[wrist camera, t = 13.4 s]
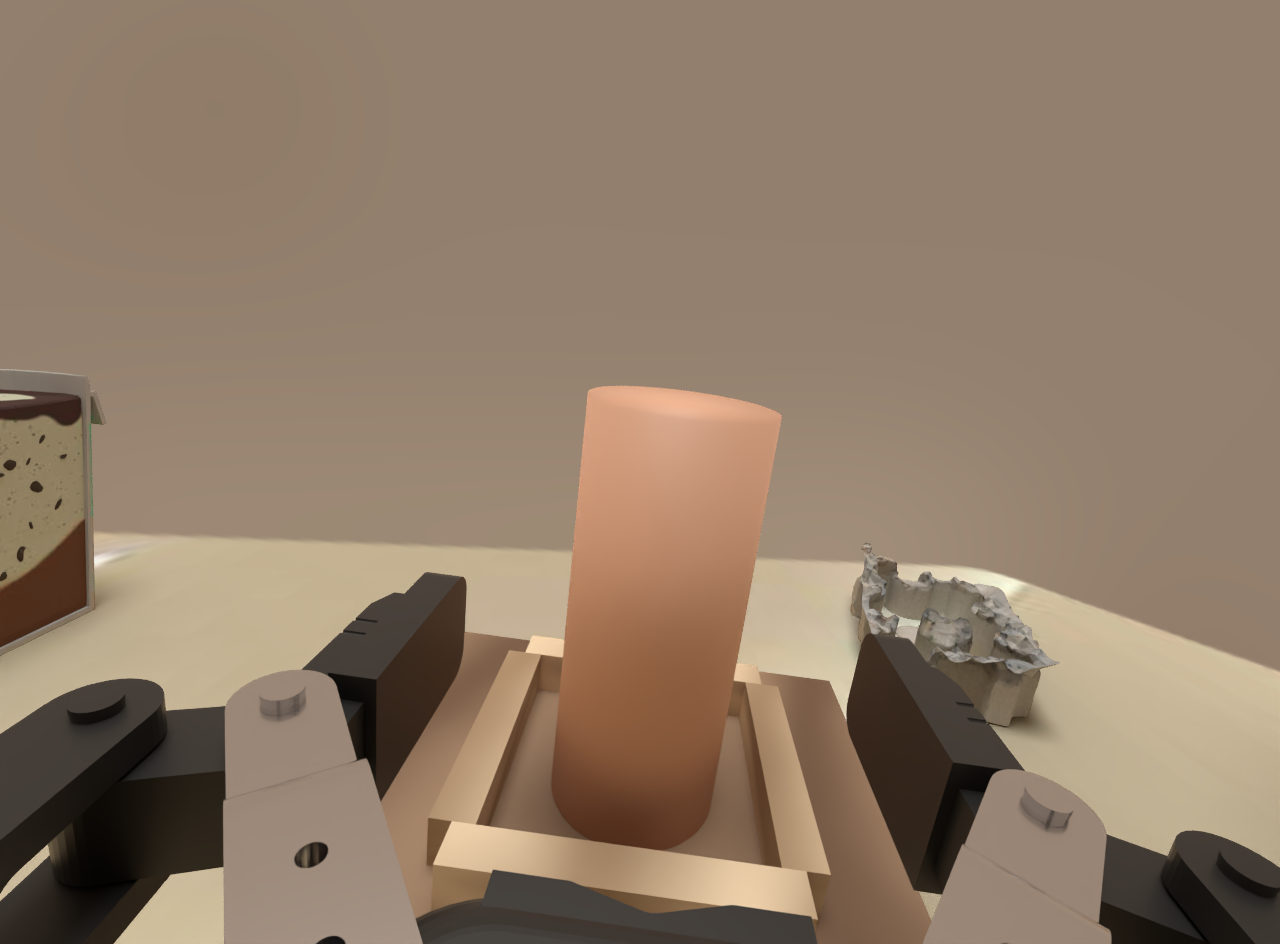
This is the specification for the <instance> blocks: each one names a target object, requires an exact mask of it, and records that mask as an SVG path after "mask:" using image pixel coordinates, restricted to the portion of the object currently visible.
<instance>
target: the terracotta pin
mask: <svg viewBox="0 0 1280 944" xmlns="http://www.w3.org/2000/svg"><path fill="white" fill-rule="evenodd" d="M781 418H782V416H781V415H780V414H779V413H777V412H776V411H774V410H771V409H769V408H766V407H763V406H760V405H757V404H753V403H749V402H745V401H741V400H737V399H732V398H727V397H722V396H717V395H711V394H705V393H698V392H691V391H684V390H676V389H666V388H655V387H641V386H605V387H598V388H593V389H591V390H589V391H588V398H587V408H586V419H585V429H584V441H583V450H582V461H581V472H580V482H579V493H578V503H577V514H576V524H575V535H574V545H573V556H572V566H571V577H570V587H569V598H568V608H567V619H566V629H565V640H564V650H563V661H562V672H561V682H560V693H559V703H558V714H557V724H556V735H555V745H554V756H553V766H552V777H551V789H552V795H553V798H554V801H555V804H556V806H557V808H558V810H559V812H560V813H561V815H562V816H563V817H564V819H565V820H566V821H567V822H568V823H569V824H570V825H571V827H572V828H573V829H575V830H576V831H577V832H579V833H580V834H581V835H582V836H584V837H586V838H587V839H589V840H591V841H596V842H603V843H610V844H617V845H624V846H631V847H638V848H645V849H652V850H659V851H662V850H666V849H669V848H672V847H674V846H677V845H679V844H681V843H683V842H684V841H686V840H688V839H689V838H690V837H692V836H693V835H694V834H695V833H696V832H697V831H698V830H699V829H700V828H701V826H702V825H703V824H704V822H705V820H706V818H707V816H708V813H709V811H710V806H711V801H712V795H713V790H714V784H715V779H716V773H717V768H718V763H719V757H720V752H721V746H722V741H723V735H724V730H725V724H726V719H727V713H728V708H729V702H730V697H731V692H732V686H733V681H734V675H735V670H736V664H737V659H738V653H739V648H740V642H741V637H742V631H743V626H744V620H745V615H746V610H747V604H748V599H749V593H750V588H751V582H752V577H753V571H754V566H755V560H756V554H757V549H758V544H759V538H760V533H761V527H762V522H763V516H764V511H765V506H766V500H767V495H768V489H769V484H770V478H771V472H772V467H773V462H774V456H775V451H776V445H777V440H778V435H779V429H780V424H781Z"/></svg>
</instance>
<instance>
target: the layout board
mask: <svg viewBox="0 0 1280 944" xmlns="http://www.w3.org/2000/svg"><path fill="white" fill-rule="evenodd" d="M563 650H564V640H562V639H555V638H548V637H540V636H532V638H531V640H530V641H529V640H521V639H514V638H506V637H499V636H492V635H484V634H477V633H469V632H464V649H463V656H462V661H461V665H460V668H459V671H458V674H457V676H456V678H455V680H454V682H453V683H452V685H451V687H450V688H449V690H448V691H447V693H446V695H445V696H444V698H443V700H442V701H441V703H440V705H439V706H438V708H437V710H436V711H435V713H434V715H433V716H432V718H431V720H430V721H429V723H428V725H427V726H426V728H425V730H424V731H423V733H422V734H421V736H420V738H419V739H418V741H417V743H416V744H415V746H414V748H413V749H412V751H411V753H410V754H409V756H408V758H407V759H406V761H405V763H404V764H403V766H402V768H401V769H400V771H399V773H398V774H397V776H396V777H395V779H394V781H393V782H392V784H391V786H390V787H389V789H388V791H387V792H386V794H385V796H384V797H383V799H382V801H381V805H382V808H383V812H384V815H385V819H386V822H387V825H388V829H389V832H390V835H391V839H392V842H393V845H394V849H395V852H396V855H397V859H398V862H399V865H400V869H401V872H402V876H403V879H404V882H405V886H406V889H407V892H408V896H409V899H410V902H411V906H412V909H413V912H414V916H415V918H418V917H420V916H422V915H424V914H426V913H428V912H430V911H433V910H436V909H439V908H442V907H444V906H447V905H450V904H454V903H459V902H463V901H467V900H472V899H480V898H484V895H485V892H486V889H487V885H488V882H489V879H490V876H491V873H492V870H500V871H507V872H514V873H520V874H527V875H534V876H541V877H547V878H554V879H561V880H568V881H572V882H574V883H577V884H579V885H581V886H584V887H586V888H589V889H591V890H593V891H596V892H598V893H601V894H603V895H605V896H608V897H610V898H613V899H615V900H618V901H620V902H622V903H625V904H627V905H630V906H632V907H634V908H637V909H639V910H642V911H645V912H648V913H664V912H673V911H682V910H691V909H700V908H709V907H717V906H726V905H737V906H744V907H751V908H757V909H764V910H771V911H778V912H784V913H791V914H798V915H805V916H811V917H812V921H813V926H814V930H815V934H816V939H817V943H818V944H923V941H924V939H925V936H926V934H927V931H928V929H929V926H930V924H931V919H930V917H929V915H928V912H927V910H926V907H925V905H924V903H923V900H922V898H921V896H920V893H919V891H915V890H913V888H912V885H911V883H910V880H909V878H908V875H907V873H906V871H905V868H904V866H903V863H902V861H901V859H900V856H899V854H898V851H897V849H896V847H895V844H894V842H893V839H892V837H891V834H890V832H889V830H888V827H887V825H886V822H885V820H884V818H883V815H882V813H881V810H880V808H879V806H878V803H877V801H876V798H875V796H874V793H873V791H872V789H871V786H870V784H869V781H868V779H867V777H866V774H865V772H864V769H863V767H862V765H861V762H860V760H859V757H858V755H857V752H856V750H855V748H854V745H853V743H852V740H851V738H850V735H849V732H848V727H847V722H846V719H845V717H844V715H843V712H842V710H841V708H840V705H839V703H838V701H837V698H836V696H835V693H834V691H833V689H832V686H831V684H830V682H829V681H825V680H817V679H810V678H803V677H795V676H788V675H780V674H773V673H766V672H759V671H758V667H757V666H755V665H748V664H740V663H737V664H736V670H735V675H734V681H733V686H732V692H731V697H730V702H729V708H728V713H727V719H726V724H725V730H724V735H723V741H722V746H721V752H720V757H719V763H718V768H717V773H716V779H715V784H714V790H713V795H712V801H711V806H710V811H709V813H708V816H707V818H706V820H705V822H704V824H703V825H702V826H701V828H700V829H699V830H698V831H697V832H696V833H695V834H694V835H693V836H692V837H690V838H689V839H688V840H686V841H684V842H683V843H681V844H679V845H677V846H674V847H672V848H669V849H666V850H662V851H659V850H652V849H645V848H638V847H631V846H624V845H617V844H610V843H603V842H596V841H591V840H589V839H587V838H586V837H584V836H582V835H581V834H580V833H579V832H577V831H576V830H575V829H573V828H572V827H571V825H570V824H569V823H568V822H567V821H566V820H565V819H564V817H563V816H562V815H561V813H560V812H559V810H558V808H557V806H556V804H555V801H554V798H553V795H552V789H551V777H552V766H553V756H554V745H555V735H556V724H557V714H558V703H559V693H560V682H561V672H562V661H563Z"/></svg>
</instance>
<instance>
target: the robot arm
mask: <svg viewBox="0 0 1280 944" xmlns="http://www.w3.org/2000/svg"><path fill="white" fill-rule="evenodd" d="M465 611H466V581H465V578H464V577H459V576H452V575H445V574H437V573H430V572H426V573H424V574H423V575H422V576H421V577H420V578H419V579H418V580H417V581H416V583H415V584H414V585H413V586H412V587H411V588H410V589H409V590H408V591H407V592H406V593H405V594H402V593H393V594H390V595H388V596H386V597H384V598H382V599H380V600H378V601H376V602H373V603H371V604H370V605H369V606H368V607H367V608H366V609H365V610H364V611H363V612H362V613H361V614H360V615H359V616H358V617H357V618H356V621H352V622H351V623H350V624H349V625H348V626H347V627H346V628H345V629H344V630H343V633H340V634H339V635H338V636H336V637H335V638H334V639H333V640H332V641H331V642H330V643H329V644H328V645H327V646H326V647H325V648H324V649H323V650H322V651H321V652H320V653H319V654H318V655H316V656H315V657H314V658H313V659H312V660H311V661H310V662H309V663H308V664H307V665H306V666H305V667H304V668H303V669H302V670H289V671H283V672H278V673H274V674H270V675H267V676H264V677H261V678H259V679H256V680H254V681H252V682H250V683H248V684H246V685H245V686H243V687H242V688H240V689H239V690H238V691H237V692H235V693H234V694H233V695H232V696H231V698H230V699H229V700H228V702H227V704H226V706H222V707H211V708H197V709H184V710H170V711H166V707H165V698H164V692H163V689H162V688H161V687H160V686H159V685H158V684H156V683H154V682H152V681H148V680H143V679H117V680H109V681H104V682H99V683H95V684H91V685H87V686H84V687H81V688H78V689H75V690H73V691H70V692H68V693H66V694H63V695H61V696H59V697H57V698H55V699H53V700H52V701H50V702H48V703H47V704H45V705H43V706H42V707H40V708H39V709H37V710H36V711H34V712H33V713H31V714H30V715H28V716H27V717H25V718H24V719H22V720H21V721H19V722H18V723H16V724H15V725H13V726H12V727H10V728H9V729H7V730H6V731H4V732H3V733H1V734H0V893H1V892H2V890H3V888H4V887H5V886H6V884H7V883H8V882H9V880H10V879H11V878H12V877H13V876H14V875H15V874H16V873H17V872H18V871H19V870H20V869H21V868H22V867H23V866H24V865H25V864H26V863H27V862H28V861H30V860H31V859H32V858H33V857H34V856H35V855H36V854H37V853H38V852H40V851H41V850H42V849H43V848H44V847H45V846H46V845H47V844H48V847H49V853H50V856H49V857H48V858H46V859H45V860H44V861H43V862H42V863H41V864H40V865H39V866H38V867H37V868H36V869H35V870H34V871H32V872H31V873H30V874H29V875H28V876H27V877H26V878H25V879H24V880H23V881H22V882H21V883H20V884H18V885H17V886H16V887H15V888H14V889H13V890H12V891H11V892H10V893H9V894H8V895H7V896H5V897H4V898H3V899H2V900H1V901H0V944H114V942H115V941H116V940H117V939H118V938H119V936H120V935H121V934H122V933H123V932H124V930H125V929H126V928H127V927H128V925H129V924H130V923H131V922H132V921H133V919H134V918H135V917H136V916H137V915H138V913H139V912H140V911H141V910H142V909H143V907H144V906H145V905H146V904H147V903H148V901H149V900H150V899H151V898H152V897H153V895H154V894H155V893H156V892H157V890H158V889H159V888H160V887H161V886H162V884H163V883H164V882H165V881H166V880H167V878H168V877H169V876H170V875H171V874H178V873H185V872H192V871H198V870H205V869H212V868H219V867H224V944H818V943H817V939H816V934H815V930H814V926H813V921H812V917H811V916H805V915H798V914H791V913H784V912H778V911H771V910H764V909H757V908H751V907H744V906H737V905H726V906H717V907H709V908H700V909H691V910H682V911H673V912H664V913H648V912H645V911H642V910H639V909H637V908H634V907H632V906H630V905H627V904H625V903H622V902H620V901H618V900H615V899H613V898H610V897H608V896H605V895H603V894H601V893H598V892H596V891H593V890H591V889H589V888H586V887H584V886H581V885H579V884H577V883H574V882H572V881H568V880H561V879H554V878H547V877H541V876H534V875H527V874H520V873H514V872H507V871H500V870H492V873H491V876H490V879H489V882H488V885H487V889H486V892H485V895H484V898H480V899H472V900H467V901H463V902H459V903H454V904H450V905H447V906H444V907H442V908H439V909H436V910H433V911H430V912H428V913H426V914H424V915H422V916H420V917H418V918H415V916H414V912H413V909H412V906H411V902H410V899H409V896H408V892H407V889H406V886H405V882H404V879H403V876H402V872H401V869H400V865H399V862H398V859H397V855H396V852H395V849H394V845H393V842H392V839H391V835H390V832H389V829H388V825H387V822H386V819H385V815H384V812H383V808H382V805H381V801H382V799H383V797H384V796H385V794H386V792H387V791H388V789H389V787H390V786H391V784H392V782H393V781H394V779H395V777H396V776H397V774H398V773H399V771H400V769H401V768H402V766H403V764H404V763H405V761H406V759H407V758H408V756H409V754H410V753H411V751H412V749H413V748H414V746H415V744H416V743H417V741H418V739H419V738H420V736H421V734H422V733H423V731H424V730H425V728H426V726H427V725H428V723H429V721H430V720H431V718H432V716H433V715H434V713H435V711H436V710H437V708H438V706H439V705H440V703H441V701H442V700H443V698H444V696H445V695H446V693H447V691H448V690H449V688H450V687H451V685H452V683H453V682H454V680H455V678H456V676H457V674H458V671H459V668H460V665H461V661H462V656H463V649H464V632H465ZM847 727H848V732H849V735H850V738H851V740H852V743H853V745H854V748H855V750H856V752H857V755H858V757H859V760H860V762H861V765H862V767H863V769H864V772H865V774H866V777H867V779H868V781H869V784H870V786H871V789H872V791H873V793H874V796H875V798H876V801H877V803H878V806H879V808H880V810H881V813H882V815H883V818H884V820H885V822H886V825H887V827H888V830H889V832H890V834H891V837H892V839H893V842H894V844H895V847H896V849H897V851H898V854H899V856H900V859H901V861H902V863H903V866H904V868H905V871H906V873H907V875H908V878H909V880H910V883H911V885H912V888H913V890H915V891H921V892H928V893H935V894H942V896H941V899H940V901H939V904H938V906H937V909H936V911H935V914H934V916H933V919H932V921H931V924H930V926H929V929H928V931H927V934H926V936H925V939H924V941H923V944H1280V868H1279V867H1278V866H1276V865H1275V864H1274V863H1272V862H1270V861H1269V860H1267V859H1266V858H1264V857H1262V856H1261V855H1259V854H1257V853H1255V852H1253V851H1252V850H1250V849H1248V848H1246V847H1244V846H1242V845H1240V844H1238V843H1235V842H1233V841H1231V840H1228V839H1226V838H1223V837H1220V836H1217V835H1214V834H1210V833H1206V832H1201V831H1184V832H1181V833H1179V834H1178V835H1177V836H1176V838H1175V841H1174V843H1173V845H1172V847H1171V850H1170V852H1169V854H1168V856H1165V855H1163V854H1160V853H1157V852H1154V851H1151V850H1149V849H1146V848H1143V847H1140V846H1137V845H1135V844H1132V843H1129V842H1126V841H1123V840H1121V839H1118V838H1115V837H1112V836H1110V835H1107V834H1106V830H1105V827H1104V825H1103V823H1102V821H1101V820H1100V818H1099V817H1098V816H1097V814H1096V813H1095V812H1094V811H1093V810H1092V809H1091V808H1090V807H1089V806H1088V805H1087V804H1086V803H1085V802H1084V801H1082V800H1081V799H1080V798H1079V797H1077V796H1076V795H1075V794H1073V793H1072V792H1071V791H1069V790H1067V789H1066V788H1064V787H1062V786H1061V785H1059V784H1057V783H1055V782H1053V781H1051V780H1049V779H1047V778H1044V777H1042V776H1039V775H1037V774H1034V773H1030V772H1026V771H1025V770H1024V769H1023V768H1022V766H1021V765H1020V764H1019V762H1018V761H1017V760H1016V759H1015V757H1014V756H1013V755H1012V753H1011V752H1010V751H1009V749H1008V748H1007V747H1006V745H1005V744H1004V743H1003V742H1002V740H1001V739H1000V738H999V736H998V735H997V734H996V732H995V731H994V730H993V729H992V727H991V726H990V725H989V724H986V719H985V718H984V717H983V716H982V714H981V713H980V712H979V710H978V709H977V708H974V704H973V702H972V701H971V700H970V699H969V697H968V696H967V695H966V693H965V692H964V691H963V689H962V688H961V687H960V686H959V685H958V684H957V683H956V682H954V681H953V680H952V679H950V678H949V677H948V676H946V675H945V674H944V673H942V672H941V671H940V670H938V669H937V668H935V667H930V666H929V665H928V663H927V662H926V661H925V659H924V658H923V657H922V655H921V654H920V652H919V651H918V650H917V648H916V647H915V645H914V644H913V643H912V641H911V640H910V639H908V638H902V637H895V636H888V635H880V634H873V633H868V634H867V635H866V636H865V637H864V639H863V642H862V645H861V649H860V653H859V657H858V661H857V665H856V669H855V673H854V677H853V682H852V686H851V690H850V694H849V698H848V703H847Z"/></svg>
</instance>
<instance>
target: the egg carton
mask: <svg viewBox="0 0 1280 944" xmlns="http://www.w3.org/2000/svg"><path fill="white" fill-rule="evenodd" d="M862 550H864V551H865V552H864V556H865V561H864V571H863V574H862V576H860V577H858V578H857V580H856V582H855V585H854V587H853V588H854V589H853V593H852V604H851V612H852V614H853V616H856V617H859V618H861V621H860V628H859V631H858V638H859V639H860V641H861V642H863V639H864V637H865V636H866V635H867V634H868V633H873V634H880V635H888V636H895V634H897V636H898V637H902V638H908V639H910V640H911V641H912V643H913V644H914V645H915V647H916V648H917V650H918V651H919V652H920V654H921V655H922V657H923V658H924V659H925V661H926V662H927V663H928V665H929V666H930V667H935V668H937V669H938V670H940V671H941V672H942V673H944V674H945V675H946V676H948V677H949V678H950V679H952V680H953V681H954V682H956V683H957V684H958V685H959V686H960V687H961V688H962V689H963V691H964V692H965V693H966V695H967V696H968V697H969V699H970V700H971V701H972V702H973V704H974V708H977V709H978V710H979V712H980V713H981V714H982V716H983V717H984V718H985V719H986V722H990V723H993V724H998V725H1002V726H1009V724H1010V721H1011V718H1012V717H1027V715H1028V712H1029V710H1030V708H1031V705H1032V701H1033V697H1034V693H1035V691H1036V688H1037V686H1038V682H1039V678H1040V669H1041V668H1045V667H1048V666H1052V665H1056V664H1059V663H1060V662H1055V661H1053V660H1051V659H1050V658H1049V657H1048V656H1047V655H1046V654H1045V653H1044V652H1043V651H1042V650H1041V649H1039V644H1038V642H1037V641H1036V640H1033V638H1032V629H1031V628H1030V627H1029V626H1027V625H1024V624H1023V623H1022V622H1021V620H1020V618H1019V616H1017V615H1016V614H1014V613H1013V611H1012V609H1011V607H1010V605H1009V603H1008V600H1007V598H1006V596H1005V594H1004V592H1003V591H1002V590H1000V589H999V588H997V587H994V586H988V585H982V584H974V585H972V584H970V583H968V582H965V581H959V580H958V579H957V578H956V577H953V578H952V580H951V581H942V580H937V579H935V578H933V577H932V574H931V573H930V572H924V573H922V574H921V575H920V577H919V579H918V581H910V580H902V579H900V578H898V577H897V575H898V572H897V563H896V562H895V561H894V560H892V559H890V558H888V557H885V556H875V555H874V554H872V553H871V550H872V547H871V546H870V544H869V543H865V544H864V545H863V548H862ZM882 606H885V607H886V608H887V609H888V610H889V611H890V612H892V613H894V614H896V615H898V616H901V617H904V618H908V619H918V620H920V619H921V622H920V626H919V628H917V627H912V626H904V627H899V628H897V624H898V621H899V617H897V616H896V615H893V616H891V617H889V618H886V617H884V616H883V615H882V613H881V609H882Z"/></svg>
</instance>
